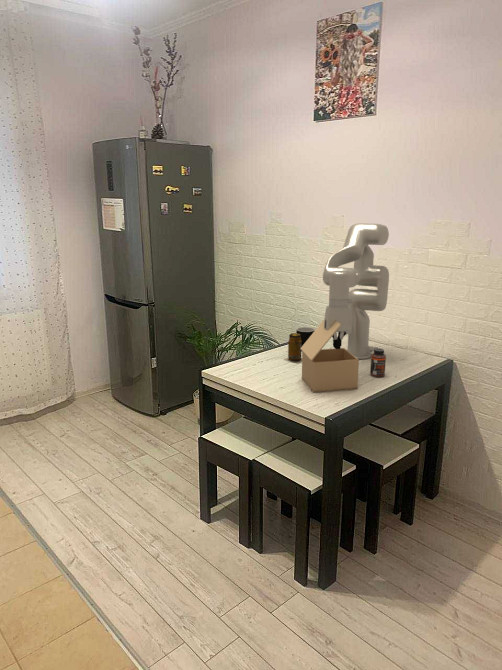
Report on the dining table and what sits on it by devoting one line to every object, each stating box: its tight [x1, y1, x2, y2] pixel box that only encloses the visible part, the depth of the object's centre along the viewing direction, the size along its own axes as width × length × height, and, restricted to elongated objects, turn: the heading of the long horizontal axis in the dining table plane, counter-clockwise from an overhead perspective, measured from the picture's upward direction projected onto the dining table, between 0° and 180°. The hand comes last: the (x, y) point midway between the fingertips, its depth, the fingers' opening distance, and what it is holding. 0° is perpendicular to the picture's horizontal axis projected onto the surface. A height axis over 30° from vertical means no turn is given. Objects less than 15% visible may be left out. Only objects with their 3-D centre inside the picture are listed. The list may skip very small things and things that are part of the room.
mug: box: [295, 326, 316, 352], centre depth 252 cm, size 12×9×10 cm
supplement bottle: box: [369, 347, 387, 378], centre depth 214 cm, size 6×6×11 cm
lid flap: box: [300, 319, 341, 360], centre depth 201 cm, size 18×15×1 cm
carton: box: [301, 347, 360, 393], centre depth 205 cm, size 18×16×12 cm
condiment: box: [284, 332, 302, 364], centre depth 234 cm, size 7×8×12 cm
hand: (337, 348), depth 203 cm, fingers closed
